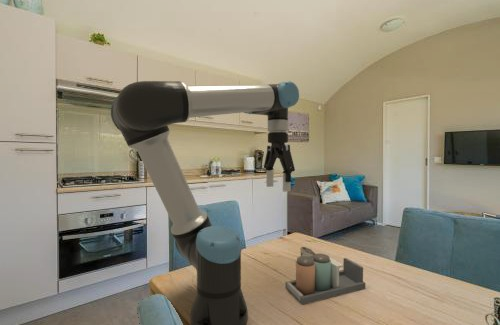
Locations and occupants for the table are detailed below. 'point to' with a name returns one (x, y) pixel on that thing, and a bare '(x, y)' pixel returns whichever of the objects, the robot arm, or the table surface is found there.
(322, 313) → the table surface
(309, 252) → the mineral rock
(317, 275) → the jar teal
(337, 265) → the pusher
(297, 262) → the jar terracotta
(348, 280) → the lane
